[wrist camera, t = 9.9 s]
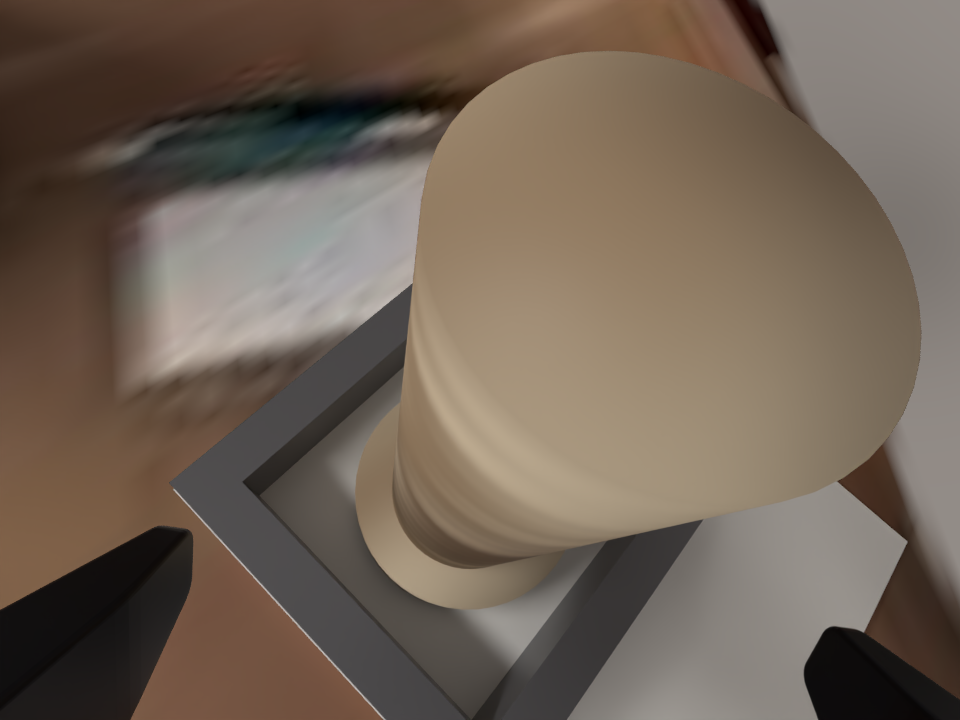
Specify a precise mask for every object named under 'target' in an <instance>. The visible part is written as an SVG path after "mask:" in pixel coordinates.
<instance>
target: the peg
mask: <svg viewBox="0 0 960 720" xmlns="http://www.w3.org/2000/svg"><path fill="white" fill-rule="evenodd" d="M920 347H921V321H920V310H919V302H918V297H917V293H916V288H915V284H914V279H913V275H912V272H911V269H910V267H909V264H908V261H907V258H906V256H905V252H904V250H903V247H902V245H901V243H900V241H899V239H898V237H897V235H896V233H895V231H894V229H893V226H892V224H891V223H890V221H889V219H888V217H887V216H886V214H885V212H884V211H883V209H882V207H881V206H880V204H879V203H878V201H877V199H876V198H875V196H874V195H873V194H872V192H871V191H870V190H869V188H868V187H867V186H866V184H865V183H864V182H863V180H862V179H861V178H860V177H859V175H858V174H857V173H856V171H854V169H853V168H852V167H851V166H850V165H849V164H848V163H847V162H846V160H845V159H844V158H843V157H842V156H841V155H840V154H839V153H838V152H837V151H836V150H835V149H834V148H833V147H832V146H831V145H830V144H829V143H828V142H827V141H826V140H824V139H823V138H822V137H821V136H820V135H819V134H818V133H817V132H816V131H814V130H813V129H812V128H811V127H809V126H808V125H807V124H806V123H804V122H803V121H802V120H800V119H799V118H798V117H797V116H795V115H794V114H793V113H791V112H790V111H788V110H787V109H785V108H784V107H782V106H781V105H779V104H778V103H776V102H774V101H773V100H771V99H770V98H768V97H766V96H765V95H763V94H761V93H759V92H757V91H755V90H754V89H752V88H750V87H748V86H746V85H744V84H742V83H740V82H738V81H736V80H733V79H731V78H729V77H727V76H724V75H722V74H720V73H718V72H715V71H712V70H709V69H706V68H703V67H700V66H697V65H694V64H691V63H688V62H684V61H680V60H676V59H671V58H667V57H663V56H657V55H650V54H644V53H637V52H620V51H598V52H581V53H575V54H569V55H563V56H557V57H553V58H550V59H546V60H543V61H540V62H536V63H533V64H530V65H528V66H526V67H523V68H521V69H519V70H516V71H514V72H512V73H510V74H508V75H506V76H504V77H503V78H501V79H500V80H498V81H496V82H495V83H493V84H491V85H490V86H488V87H487V88H486V89H484V90H483V91H482V92H481V93H480V94H478V95H477V96H476V97H475V98H474V99H473V100H471V101H470V102H469V103H468V104H467V105H466V106H465V107H464V109H463V110H462V111H461V112H460V113H459V114H458V116H457V117H456V118H455V119H454V120H453V121H452V123H451V124H450V126H449V127H448V129H447V131H446V132H445V134H444V136H443V137H442V139H441V140H440V142H439V144H438V145H437V148H436V151H435V153H434V156H433V158H432V161H431V163H430V166H429V168H428V171H427V176H426V180H425V185H424V190H423V194H422V200H421V209H420V219H419V229H418V238H417V248H416V257H415V267H414V277H413V286H412V296H411V306H410V315H409V325H408V335H407V344H406V354H405V363H404V373H403V383H402V392H401V402H400V403H399V404H398V405H397V406H395V407H394V408H393V409H392V410H391V411H390V412H389V413H388V414H387V415H386V416H385V417H384V418H383V419H382V420H381V421H380V422H379V424H378V425H377V427H376V428H375V430H374V431H373V433H372V434H371V436H370V438H369V440H368V442H367V444H366V446H365V448H364V450H363V453H362V456H361V459H360V461H359V466H358V471H357V475H356V486H355V501H356V511H357V516H358V522H359V525H360V528H361V531H362V534H363V537H364V540H365V543H366V545H367V547H368V549H369V551H370V553H371V555H372V556H373V558H374V559H375V561H376V562H377V564H378V565H379V567H380V568H381V569H382V570H383V571H384V573H385V574H386V575H387V576H388V577H389V578H390V579H391V580H392V581H393V582H394V583H396V584H397V585H398V586H399V587H400V588H402V589H403V590H405V591H406V592H408V593H410V594H411V595H413V596H415V597H417V598H419V599H421V600H423V601H426V602H428V603H432V604H435V605H439V606H442V607H447V608H454V609H461V610H468V609H483V608H490V607H495V606H498V605H501V604H504V603H507V602H510V601H512V600H514V599H516V598H518V597H520V596H522V595H524V594H525V593H527V592H528V591H530V590H531V589H533V588H534V587H535V586H537V585H538V584H539V583H540V582H541V581H542V580H543V579H544V578H546V576H547V575H548V574H549V573H550V572H551V571H552V569H553V568H554V567H555V566H556V564H557V563H558V561H559V560H560V558H561V557H562V555H563V554H564V552H565V550H567V549H571V548H576V547H580V546H585V545H589V544H594V543H598V542H603V541H607V540H612V539H616V538H621V537H625V536H630V535H634V534H639V533H643V532H648V531H652V530H657V529H661V528H666V527H671V526H675V525H680V524H684V523H689V522H693V521H698V520H702V519H707V518H711V517H716V516H720V515H725V514H729V513H734V512H738V511H743V510H747V509H752V508H756V507H761V506H765V505H770V504H774V503H779V502H783V501H787V500H790V499H793V498H797V497H800V496H803V495H807V494H810V493H813V492H816V491H818V490H820V489H822V488H824V487H826V486H828V485H830V484H832V483H834V482H836V481H838V480H840V479H842V478H844V477H845V476H847V475H848V474H849V473H851V472H852V471H853V470H855V469H856V468H857V467H859V466H860V465H861V464H863V463H864V462H865V461H867V460H868V459H869V458H870V457H871V456H872V455H873V454H874V453H875V452H876V450H877V449H878V448H879V447H880V446H881V445H882V444H883V443H884V442H885V441H886V440H887V438H888V437H889V436H890V434H891V433H892V431H893V429H894V428H895V426H896V425H897V423H898V421H899V420H900V418H901V417H902V415H903V413H904V411H905V408H906V406H907V403H908V401H909V398H910V396H911V393H912V391H913V388H914V385H915V380H916V375H917V371H918V366H919V361H920Z"/></svg>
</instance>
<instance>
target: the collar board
mask: <svg viewBox="0 0 960 720" xmlns="http://www.w3.org/2000/svg"><path fill="white" fill-rule="evenodd" d="M412 286H413V283H412V284H411V285H410V286H409V287H408V288H406V289H405V290H404V291H403V292H401V293H400V294H399V295H398V296H397V297H395V298H394V299H393V300H392V301H390V302H389V303H388V304H387V305H386V306H384V307H383V308H382V309H381V310H380V311H378V312H377V313H376V314H375V315H373V316H372V317H371V318H370V319H369V320H367V321H366V322H365V323H364V324H362V325H361V326H360V327H359V328H358V329H356V330H355V331H354V332H353V333H351V334H350V335H349V336H348V337H347V338H345V339H344V340H343V341H342V342H340V343H339V344H338V345H337V346H336V347H334V348H333V349H332V350H331V351H329V352H328V353H327V354H326V355H325V356H323V357H322V358H321V359H320V360H318V361H317V362H316V363H315V364H314V365H312V366H311V367H310V368H309V369H307V370H306V371H305V372H304V373H303V374H301V375H300V376H299V377H298V378H296V379H295V380H294V381H293V382H292V383H290V384H289V385H288V386H287V387H285V388H284V389H283V390H282V391H281V392H279V393H278V394H277V395H276V396H274V397H273V398H272V399H271V400H270V401H268V402H267V403H266V404H265V405H263V406H262V407H261V408H260V409H259V410H257V411H256V412H255V413H254V414H252V415H251V416H250V417H249V418H248V419H246V420H245V421H244V422H243V423H241V424H240V425H239V426H238V427H237V428H235V429H234V430H233V431H232V432H230V433H229V434H228V435H227V436H226V437H224V438H223V439H222V440H221V441H219V442H218V443H217V444H216V445H215V446H213V447H212V448H211V449H210V450H208V451H207V452H206V453H205V454H204V455H202V456H201V457H200V458H199V459H198V460H196V461H195V462H194V463H193V464H191V465H190V466H189V467H188V468H187V469H185V470H184V471H183V472H182V473H180V474H179V475H178V476H177V477H176V478H174V479H173V480H172V481H171V482H169V483H170V484H171V486H172V487H173V488H174V489H173V490H174V491H175V492H176V493H177V494H178V495H179V496H180V498H181V499H182V500H183V501H184V502H185V503H186V504H187V505H188V506H189V507H190V509H191V510H192V511H193V512H194V513H195V514H196V515H197V516H198V517H199V518H200V519H201V521H202V522H203V523H204V524H205V525H206V526H207V527H208V528H209V529H210V530H211V531H212V533H213V534H214V535H215V536H216V537H217V538H218V539H219V540H220V541H221V542H222V544H223V545H224V546H225V547H226V548H227V549H228V550H229V551H230V552H231V553H232V554H233V556H234V557H235V558H236V559H237V560H238V561H239V562H240V563H241V564H242V565H243V566H244V568H245V569H246V570H247V571H248V572H249V573H250V574H251V575H252V576H253V577H254V579H255V580H256V581H257V582H258V583H259V584H260V585H261V586H262V587H263V588H264V589H265V591H266V592H267V593H268V594H269V595H270V596H271V597H272V598H273V599H274V600H275V601H276V603H277V604H278V605H279V606H280V607H281V608H282V609H283V610H284V611H285V612H286V614H287V615H288V616H289V617H290V618H291V619H292V620H293V621H294V622H295V623H296V624H297V626H298V627H299V628H300V629H301V630H302V631H303V632H304V633H305V634H306V635H307V636H308V638H309V639H310V640H311V641H312V642H313V643H314V644H315V645H316V646H317V647H318V649H319V650H320V651H321V652H322V653H323V654H324V655H325V656H326V657H327V658H328V659H329V661H330V662H331V663H332V664H333V665H334V666H335V667H336V668H337V669H338V670H339V671H340V673H341V674H342V675H343V676H344V677H345V678H346V679H347V680H348V681H349V682H350V684H351V685H352V686H353V687H354V688H355V689H356V690H357V691H358V692H359V693H360V694H361V696H362V697H363V698H364V699H365V700H366V701H367V702H368V703H369V704H370V705H371V706H372V708H373V709H374V710H375V711H376V712H377V713H378V714H379V715H380V716H381V717H382V718H383V720H818V718H817V715H816V713H815V710H814V707H813V704H812V702H811V699H810V696H809V694H808V691H807V688H806V685H805V682H804V666H805V663H806V661H807V660H808V658H809V656H810V654H811V653H812V651H813V649H814V647H815V645H816V644H817V642H818V640H819V638H820V637H821V635H822V633H823V632H824V630H825V629H827V628H828V627H830V626H839V627H846V628H853V629H857V630H859V631H862V632H863V633H864V631H865V629H866V627H867V625H868V623H869V621H870V619H871V617H872V615H873V613H874V611H875V608H876V606H877V604H878V602H879V600H880V598H881V596H882V594H883V592H884V590H885V588H886V586H887V584H888V582H889V579H890V577H891V575H892V573H893V571H894V569H895V567H896V565H897V563H898V561H899V559H900V557H901V555H902V552H903V550H904V548H905V546H906V544H907V541H906V540H905V539H904V538H903V537H901V536H900V535H899V534H898V533H897V532H896V531H894V530H893V529H892V528H891V527H890V526H888V525H887V524H886V523H885V522H884V521H883V520H881V519H880V518H879V517H878V516H877V515H876V514H874V513H873V512H872V511H871V510H870V509H869V508H867V507H866V506H865V505H864V504H863V503H862V502H860V501H859V500H858V499H857V498H856V497H855V496H853V495H852V494H851V493H850V492H849V491H847V490H846V489H845V488H844V487H843V486H842V485H840V484H839V483H838V482H837V481H836V482H834V483H832V484H830V485H828V486H826V487H824V488H822V489H820V490H818V491H816V492H813V493H810V494H807V495H803V496H800V497H797V498H793V499H790V500H787V501H783V502H779V503H774V504H770V505H765V506H761V507H756V508H752V509H747V510H743V511H738V512H734V513H729V514H725V515H720V516H716V517H711V518H707V519H702V520H698V521H693V522H689V523H684V524H680V525H675V526H671V527H666V528H661V529H657V530H652V531H648V532H643V533H639V534H634V535H630V536H625V537H621V538H616V539H612V540H607V541H603V542H598V543H594V544H589V545H585V546H580V547H576V548H571V549H567V550H565V552H564V554H563V555H562V557H561V558H560V560H559V561H558V563H557V564H556V566H555V567H554V568H553V569H552V571H551V572H550V573H549V574H548V575H547V576H546V578H544V579H543V580H542V581H541V582H540V583H539V584H538V585H537V586H535V587H534V588H533V589H531V590H530V591H528V592H527V593H525V594H524V595H522V596H520V597H518V598H516V599H514V600H512V601H510V602H507V603H504V604H501V605H498V606H495V607H490V608H483V609H468V610H461V609H454V608H447V607H442V606H439V605H435V604H432V603H428V602H426V601H423V600H421V599H419V598H417V597H415V596H413V595H411V594H410V593H408V592H406V591H405V590H403V589H402V588H400V587H399V586H398V585H397V584H396V583H394V582H393V581H392V580H391V579H390V578H389V577H388V576H387V575H386V574H385V573H384V571H383V570H382V569H381V568H380V567H379V565H378V564H377V562H376V561H375V559H374V558H373V556H372V555H371V553H370V551H369V549H368V547H367V545H366V543H365V540H364V537H363V534H362V531H361V528H360V525H359V522H358V516H357V511H356V501H355V486H356V475H357V471H358V466H359V461H360V459H361V456H362V453H363V450H364V448H365V446H366V444H367V442H368V440H369V438H370V436H371V434H372V433H373V431H374V430H375V428H376V427H377V425H378V424H379V422H380V421H381V420H382V419H383V418H384V417H385V416H386V415H387V414H388V413H389V412H390V411H391V410H392V409H393V408H394V407H395V406H397V405H398V404H399V403H400V402H401V392H402V383H403V373H404V363H405V354H406V344H407V335H408V325H409V315H410V306H411V296H412Z"/></svg>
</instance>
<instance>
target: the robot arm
mask: <svg viewBox="0 0 960 720" xmlns="http://www.w3.org/2000/svg"><path fill="white" fill-rule="evenodd" d="M192 563H193V535H192V533H191V532H190V531H189V530H188V529H183V528H176V527H170V526H157V527H154V528H152V529H150V530H148V531H146V532H144V533H143V534H141V535H139V536H137V537H135V538H133V539H131V540H129V541H128V542H126V543H124V544H122V545H120V546H118V547H116V548H115V549H113V550H111V551H109V552H107V553H105V554H103V555H102V556H100V557H98V558H96V559H94V560H92V561H90V562H89V563H87V564H85V565H83V566H81V567H79V568H77V569H75V570H74V571H72V572H70V573H68V574H66V575H64V576H62V577H61V578H59V579H57V580H55V581H53V582H51V583H49V584H48V585H46V586H44V587H42V588H40V589H38V590H36V591H35V592H33V593H31V594H29V595H27V596H25V597H23V598H22V599H20V600H18V601H16V602H14V603H12V604H10V605H8V606H7V607H5V608H3V609H1V610H0V720H130V719H131V717H132V715H133V713H134V711H135V709H136V707H137V705H138V703H139V701H140V699H141V696H142V694H143V692H144V690H145V688H146V686H147V683H148V681H149V679H150V677H151V675H152V673H153V670H154V668H155V666H156V664H157V662H158V659H159V657H160V655H161V653H162V651H163V649H164V646H165V644H166V642H167V640H168V638H169V636H170V633H171V631H172V629H173V627H174V625H175V623H176V620H177V618H178V616H179V614H180V612H181V610H182V607H183V605H184V603H185V601H186V599H187V596H188V593H189V590H190V587H191V582H192ZM804 682H805V685H806V688H807V691H808V694H809V696H810V699H811V702H812V704H813V707H814V710H815V713H816V715H817V718H818V720H960V700H959V699H958V698H956V697H955V696H953V695H952V694H951V693H949V692H948V691H946V690H945V689H943V688H942V687H941V686H939V685H938V684H936V683H935V682H933V681H932V680H931V679H929V678H928V677H926V676H925V675H924V674H922V673H921V672H919V671H918V670H916V669H915V668H914V667H912V666H911V665H909V664H908V663H906V662H905V661H904V660H902V659H901V658H899V657H898V656H896V655H895V654H894V653H892V652H891V651H889V650H888V649H887V648H885V647H884V646H882V645H881V644H879V643H878V642H877V641H875V640H874V639H872V638H871V637H869V636H868V635H867V634H865V633H863V632H862V631H859V630H857V629H853V628H846V627H839V626H830V627H828V628H827V629H825V630H824V632H823V633H822V635H821V637H820V638H819V640H818V642H817V644H816V645H815V647H814V649H813V651H812V653H811V654H810V656H809V658H808V660H807V661H806V663H805V666H804Z"/></svg>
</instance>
